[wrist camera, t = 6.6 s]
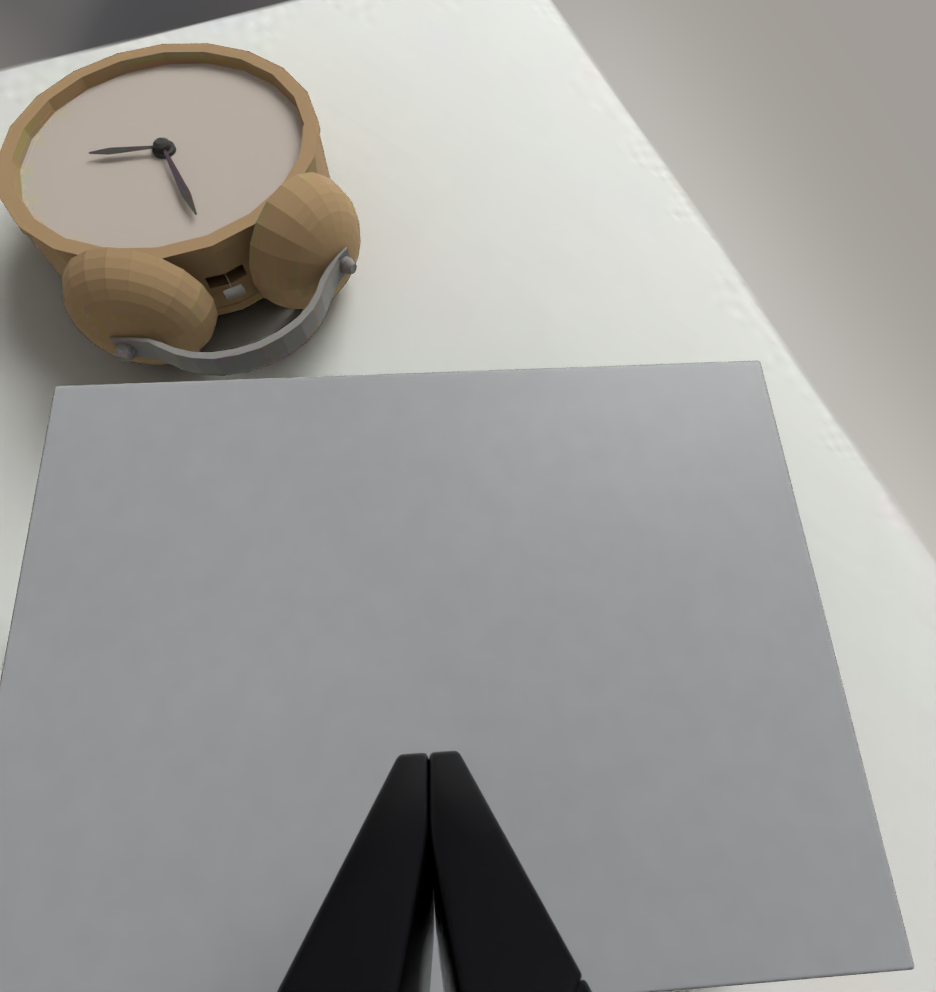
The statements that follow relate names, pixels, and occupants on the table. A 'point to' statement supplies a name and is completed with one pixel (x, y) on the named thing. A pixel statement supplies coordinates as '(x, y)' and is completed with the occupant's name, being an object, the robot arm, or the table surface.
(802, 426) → the table surface
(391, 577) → the lid
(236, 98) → the alarm clock
